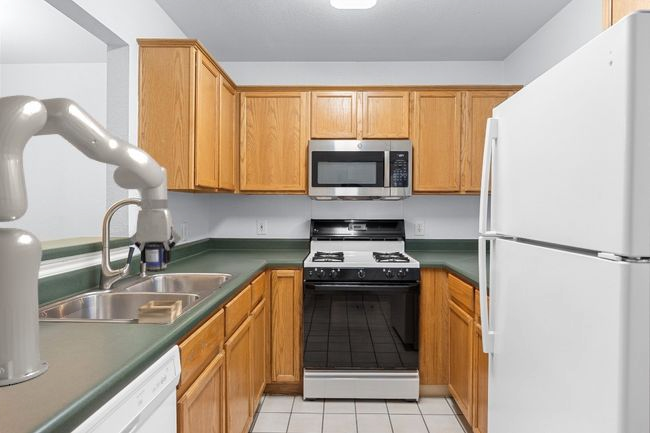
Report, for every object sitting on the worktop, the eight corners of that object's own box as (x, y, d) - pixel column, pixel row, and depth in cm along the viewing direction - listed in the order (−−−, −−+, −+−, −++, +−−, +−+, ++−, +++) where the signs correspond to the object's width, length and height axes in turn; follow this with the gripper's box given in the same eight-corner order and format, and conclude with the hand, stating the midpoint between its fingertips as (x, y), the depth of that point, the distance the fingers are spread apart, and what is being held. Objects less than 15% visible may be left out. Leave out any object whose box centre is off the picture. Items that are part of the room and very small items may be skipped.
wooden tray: (171, 322, 126) (171, 308, 126) (138, 323, 126) (138, 308, 126) (181, 314, 136) (181, 300, 136) (151, 314, 136) (151, 300, 136)
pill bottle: (160, 268, 134) (159, 234, 133) (170, 270, 130) (169, 235, 129) (142, 270, 129) (141, 235, 128) (152, 273, 125) (151, 236, 125)
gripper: (121, 206, 124) (123, 265, 125) (178, 205, 125) (180, 264, 126) (132, 205, 132) (133, 261, 133) (186, 205, 132) (187, 260, 133)
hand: (156, 262), depth 129 cm, fingers closed on pill bottle, 6 cm apart
